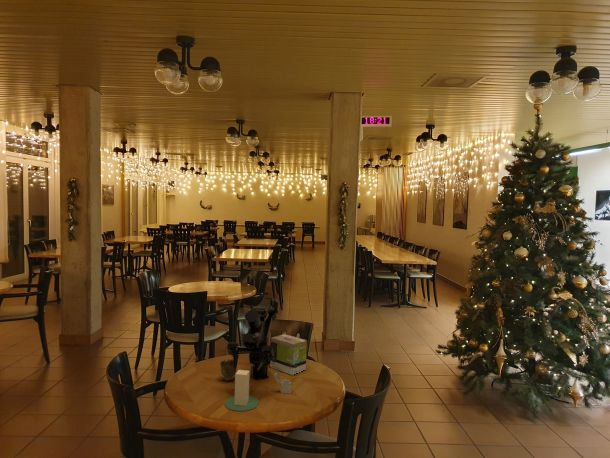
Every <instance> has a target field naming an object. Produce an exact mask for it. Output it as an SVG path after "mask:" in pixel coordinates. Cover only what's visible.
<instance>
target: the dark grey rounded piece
mask: <svg viewBox="0 0 610 458" xmlns="http://www.w3.org/2000/svg"><path fill="white" fill-rule="evenodd" d="M219 364H220V372H221V375H222V377H223V378H224V380H225V381H227V382H229V381H232V380H233V379H234V377H235V374H236V373H237V368H238V365H237V366H236V369H234V361H233V358H232V359H230V358H229V359H227V360H225V359H223V360H221V362H220V363H219Z"/></svg>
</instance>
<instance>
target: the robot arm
mask: <svg viewBox="0 0 610 458" xmlns="http://www.w3.org/2000/svg"><path fill="white" fill-rule="evenodd" d="M279 313H280V304H279V303H278V302H277V300H275V298H274V297H271V296H270V297H268V296H264V297H262V299H261V301H260V303H259V304H258V305H254V306H252V307H251V309H249V310H248V311H247V312H245V314H244V319H245V322H246V325H247V328H248V329H247V332H246V333H243V334H242V336H241V337H242V338H241V339H242V340H241V342H242V345H243V346H241V345H239V343H238V342H233V341H230V342H229V343H227V345H226V349H227V351H228V353H229V354H230V355H231V356H232V359H233V361H234V369H236V366H237V367H238V361H239V357H240V355H239V354H240V352H243V353H244V352H247V353H249V355H248V358H249V359H248V360H249V364H250V365H251V364H252V365H251V367H250V373H249V376H251V377H252V378H253V379H255V380H263V379H267V378H269V377H270V376H269V375H268V367H269V365H270V364H271V359H270V358H273V354H274V351H273V348H272V346H271V345H268V341H269V337H270V333H271V329H272V326H273V325H272V324H273V322H274V321H275V320H276V319H277V317H278V315H279ZM236 370H237V369H236Z"/></svg>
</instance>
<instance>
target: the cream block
mask: <svg viewBox="0 0 610 458" xmlns="http://www.w3.org/2000/svg"><path fill="white" fill-rule="evenodd" d="M250 374H251V370H247V369H246V370H244V369H238V370H236V373H235V375H234V378H235V379H234V396H235V403H234V405H243V406H246V404H247V403H248V401H249V396H250Z"/></svg>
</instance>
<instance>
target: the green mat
mask: <svg viewBox="0 0 610 458" xmlns="http://www.w3.org/2000/svg"><path fill="white" fill-rule="evenodd" d="M259 402H260V401H259V400H258V399H257V398H256V397H254V396H251V395H249V401H248V403H247V404H246V406H243V405H234V403H235V395H234V396H231V397H229V398H227V399H225V401H224V406H225V407H226V409H228V410H230V411H233V412H248V411H252V410H254V409H256V408H257V407H258V406H259V404H260V403H259Z"/></svg>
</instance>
